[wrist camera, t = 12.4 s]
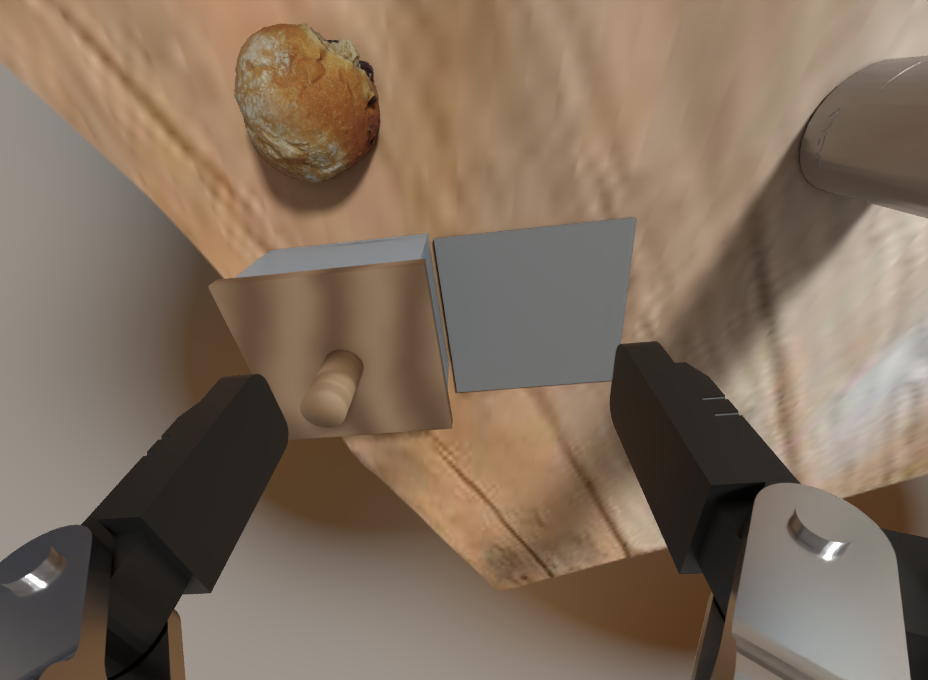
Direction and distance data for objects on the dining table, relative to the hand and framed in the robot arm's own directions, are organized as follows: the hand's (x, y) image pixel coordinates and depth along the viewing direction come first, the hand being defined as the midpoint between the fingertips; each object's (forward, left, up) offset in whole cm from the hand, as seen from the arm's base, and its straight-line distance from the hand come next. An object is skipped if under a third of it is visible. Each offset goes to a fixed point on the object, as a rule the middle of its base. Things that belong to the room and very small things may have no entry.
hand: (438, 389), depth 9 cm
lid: (+11, +12, -20) cm, 26 cm away
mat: (-6, +14, -28) cm, 32 cm away
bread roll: (+10, -6, -28) cm, 31 cm away
